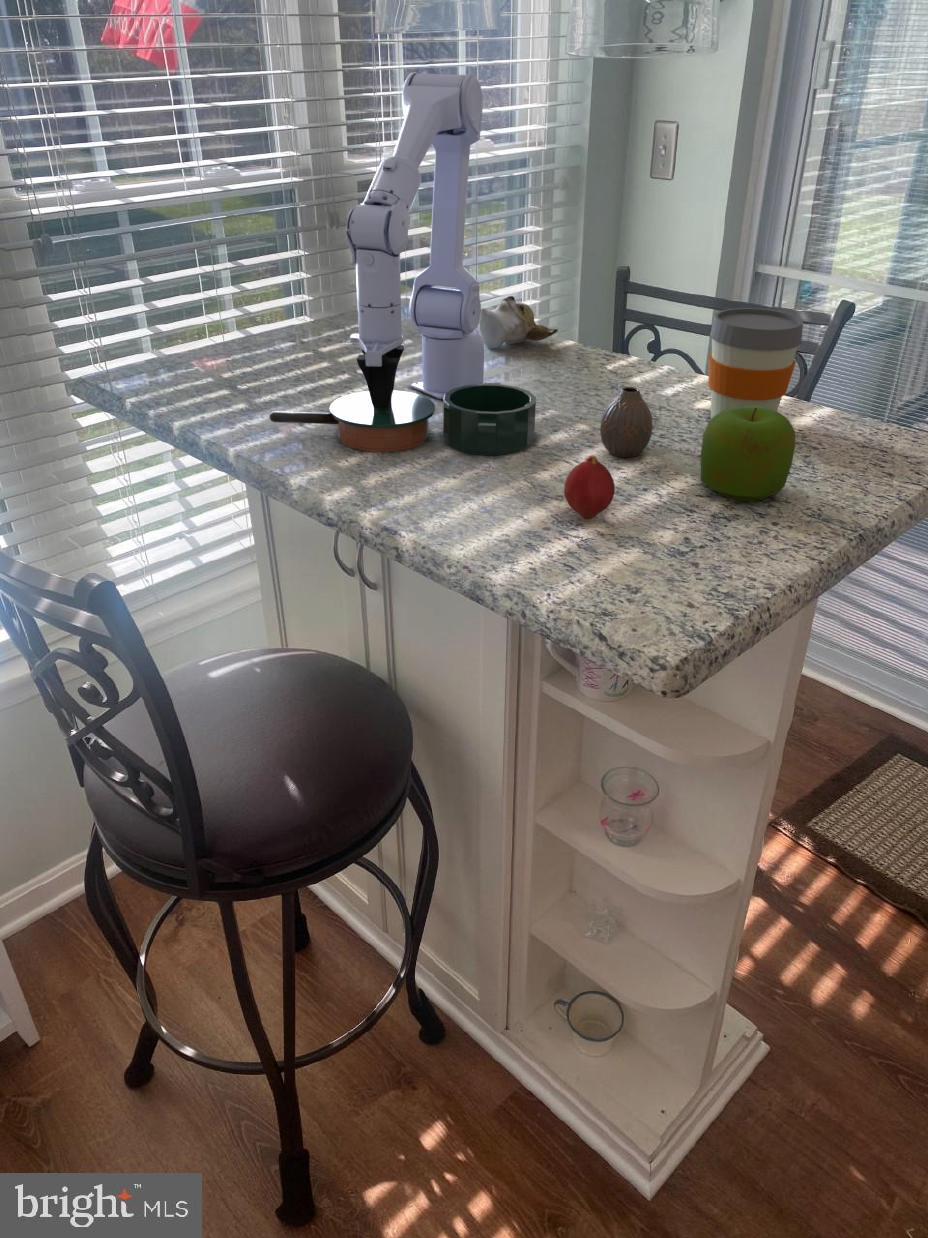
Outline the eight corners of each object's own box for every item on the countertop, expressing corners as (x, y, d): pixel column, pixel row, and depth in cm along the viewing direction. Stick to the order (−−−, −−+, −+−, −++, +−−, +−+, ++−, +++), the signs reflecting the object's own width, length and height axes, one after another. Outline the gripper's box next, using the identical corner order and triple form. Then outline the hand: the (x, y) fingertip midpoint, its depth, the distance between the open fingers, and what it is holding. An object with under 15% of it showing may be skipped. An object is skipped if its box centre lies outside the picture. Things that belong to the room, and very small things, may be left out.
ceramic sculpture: (462, 293, 175) (523, 286, 184) (459, 342, 179) (519, 333, 188) (502, 305, 168) (564, 298, 177) (498, 356, 172) (558, 346, 181)
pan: (432, 421, 144) (432, 398, 142) (423, 453, 133) (423, 428, 131) (346, 418, 145) (345, 395, 143) (331, 450, 134) (329, 425, 132)
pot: (533, 418, 146) (535, 379, 142) (533, 464, 130) (535, 421, 127) (448, 415, 146) (449, 376, 143) (438, 461, 131) (438, 418, 128)
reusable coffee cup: (804, 427, 144) (824, 323, 136) (741, 442, 138) (758, 334, 130) (742, 402, 153) (758, 303, 145) (680, 415, 147) (694, 313, 139)
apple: (712, 467, 130) (724, 387, 124) (794, 485, 125) (811, 402, 120) (683, 497, 122) (695, 412, 116) (770, 516, 117) (787, 429, 111)
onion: (558, 508, 118) (562, 445, 114) (605, 507, 119) (611, 444, 115) (567, 529, 113) (571, 464, 109) (616, 528, 114) (622, 463, 110)
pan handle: (344, 422, 139) (344, 412, 138) (343, 425, 138) (342, 415, 137) (271, 419, 139) (270, 409, 139) (268, 423, 138) (267, 413, 137)
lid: (439, 398, 143) (439, 367, 141) (430, 434, 131) (429, 400, 128) (339, 395, 144) (338, 363, 141) (321, 430, 131) (318, 396, 129)
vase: (617, 465, 130) (624, 400, 126) (588, 447, 136) (593, 385, 131) (659, 456, 133) (667, 393, 129) (629, 439, 138) (636, 378, 134)
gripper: (357, 289, 136) (361, 385, 143) (339, 315, 123) (345, 419, 130) (408, 290, 135) (409, 387, 142) (395, 317, 123) (398, 421, 130)
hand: (382, 403), depth 136 cm, fingers closed on lid, 2 cm apart
